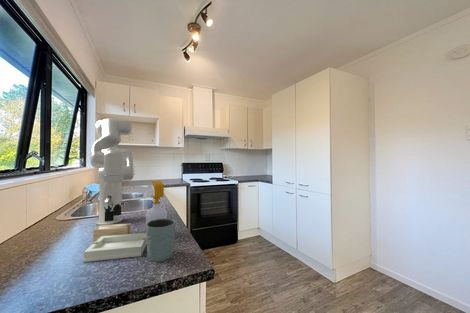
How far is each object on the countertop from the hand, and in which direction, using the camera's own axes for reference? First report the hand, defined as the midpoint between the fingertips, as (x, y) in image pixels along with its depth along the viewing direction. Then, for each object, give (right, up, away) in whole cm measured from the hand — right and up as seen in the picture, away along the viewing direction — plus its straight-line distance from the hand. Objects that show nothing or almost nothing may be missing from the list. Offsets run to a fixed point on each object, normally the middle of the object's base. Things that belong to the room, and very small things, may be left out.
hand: (113, 217), depth 87 cm
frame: (-1, -9, +1) cm, 9 cm away
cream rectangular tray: (+10, -9, -11) cm, 17 cm away
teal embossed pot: (+27, -9, -16) cm, 33 cm away
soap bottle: (+18, -9, +4) cm, 20 cm away
